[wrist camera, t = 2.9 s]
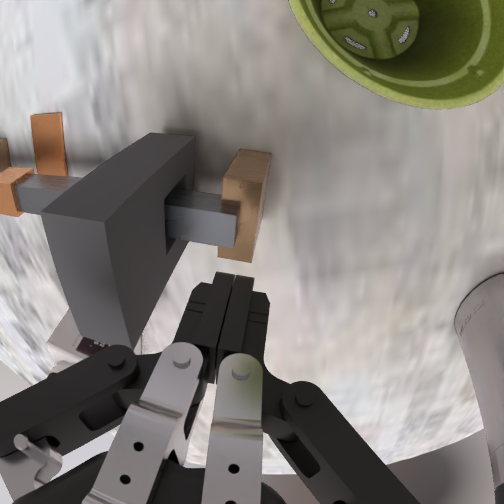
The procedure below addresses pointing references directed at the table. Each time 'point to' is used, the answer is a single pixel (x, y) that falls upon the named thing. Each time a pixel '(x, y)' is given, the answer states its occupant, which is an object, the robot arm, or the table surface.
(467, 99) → the plant pot
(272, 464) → the table surface
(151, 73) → the table surface
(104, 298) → the collar
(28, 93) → the table surface
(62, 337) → the container
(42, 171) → the rail
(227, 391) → the robot arm
